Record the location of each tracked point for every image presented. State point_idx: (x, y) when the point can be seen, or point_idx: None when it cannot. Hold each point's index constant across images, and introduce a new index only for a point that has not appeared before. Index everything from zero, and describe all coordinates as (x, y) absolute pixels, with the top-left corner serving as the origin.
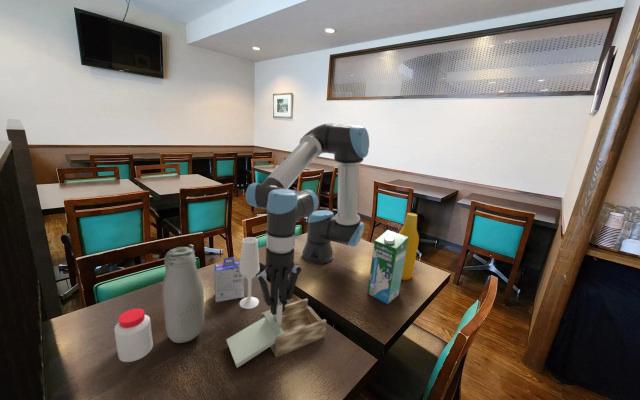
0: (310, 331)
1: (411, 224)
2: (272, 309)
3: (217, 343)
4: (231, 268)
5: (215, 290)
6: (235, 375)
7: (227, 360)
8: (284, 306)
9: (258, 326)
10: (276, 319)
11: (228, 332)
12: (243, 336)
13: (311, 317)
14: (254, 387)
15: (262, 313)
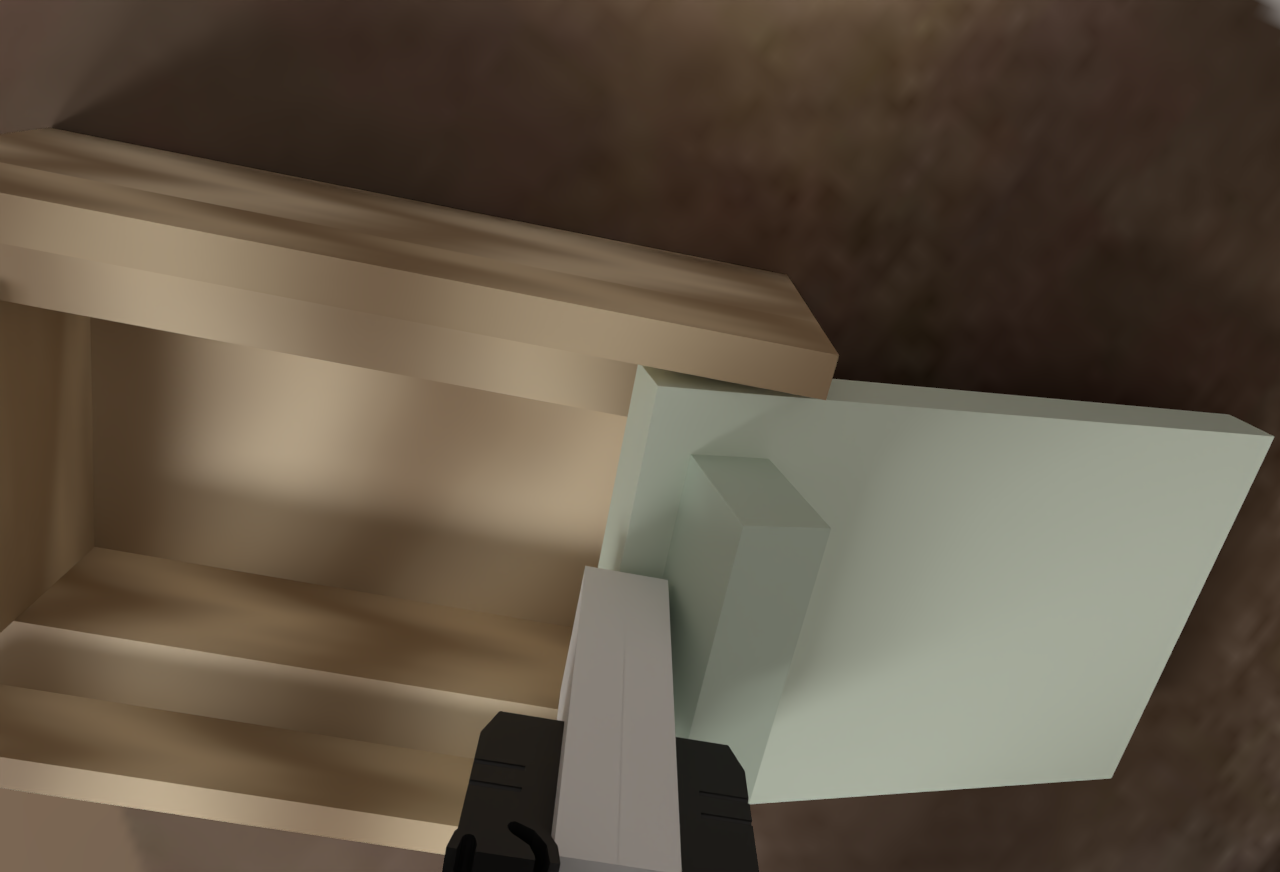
0: (227, 211)
1: None
2: (754, 852)
3: (1112, 789)
4: None
5: None
6: (1248, 363)
7: None
8: (477, 793)
9: (815, 725)
10: (666, 656)
11: (953, 844)
12: (999, 706)
13: (38, 465)
14: (1221, 97)
15: None
